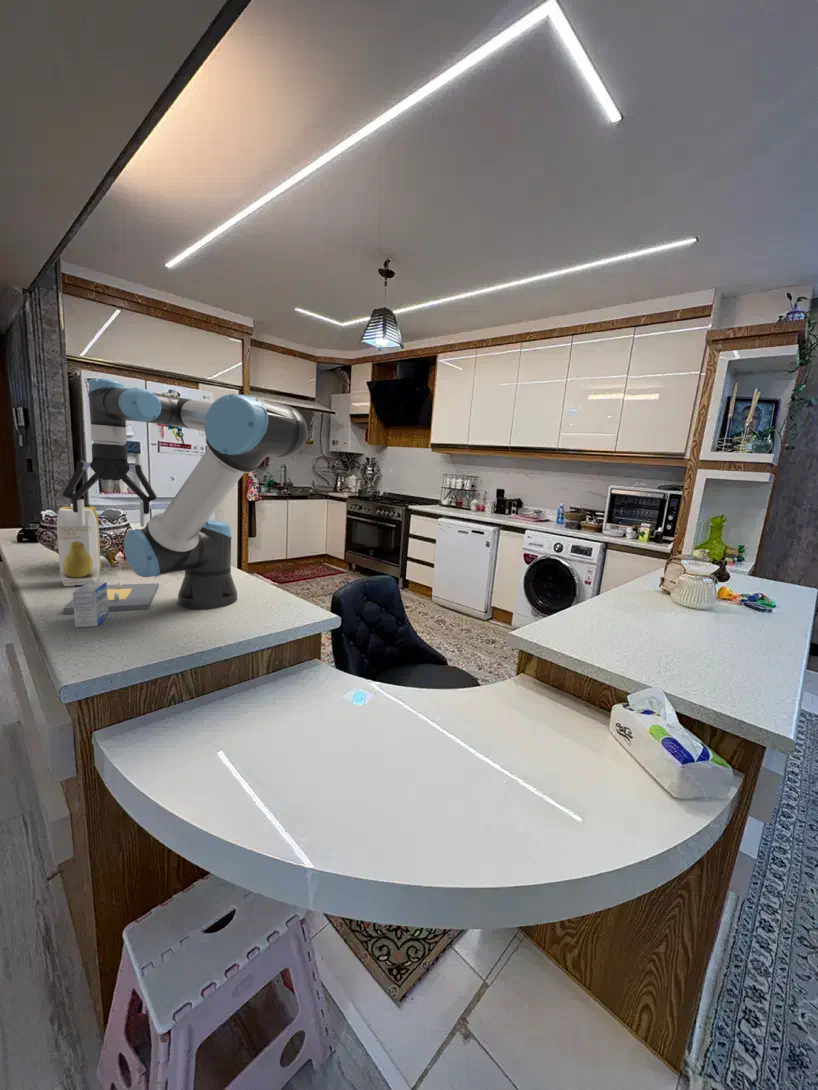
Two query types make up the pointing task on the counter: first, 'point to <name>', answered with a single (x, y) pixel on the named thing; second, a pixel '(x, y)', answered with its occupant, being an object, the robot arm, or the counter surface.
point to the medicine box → (90, 604)
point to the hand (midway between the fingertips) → (113, 525)
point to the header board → (125, 597)
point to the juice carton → (78, 546)
